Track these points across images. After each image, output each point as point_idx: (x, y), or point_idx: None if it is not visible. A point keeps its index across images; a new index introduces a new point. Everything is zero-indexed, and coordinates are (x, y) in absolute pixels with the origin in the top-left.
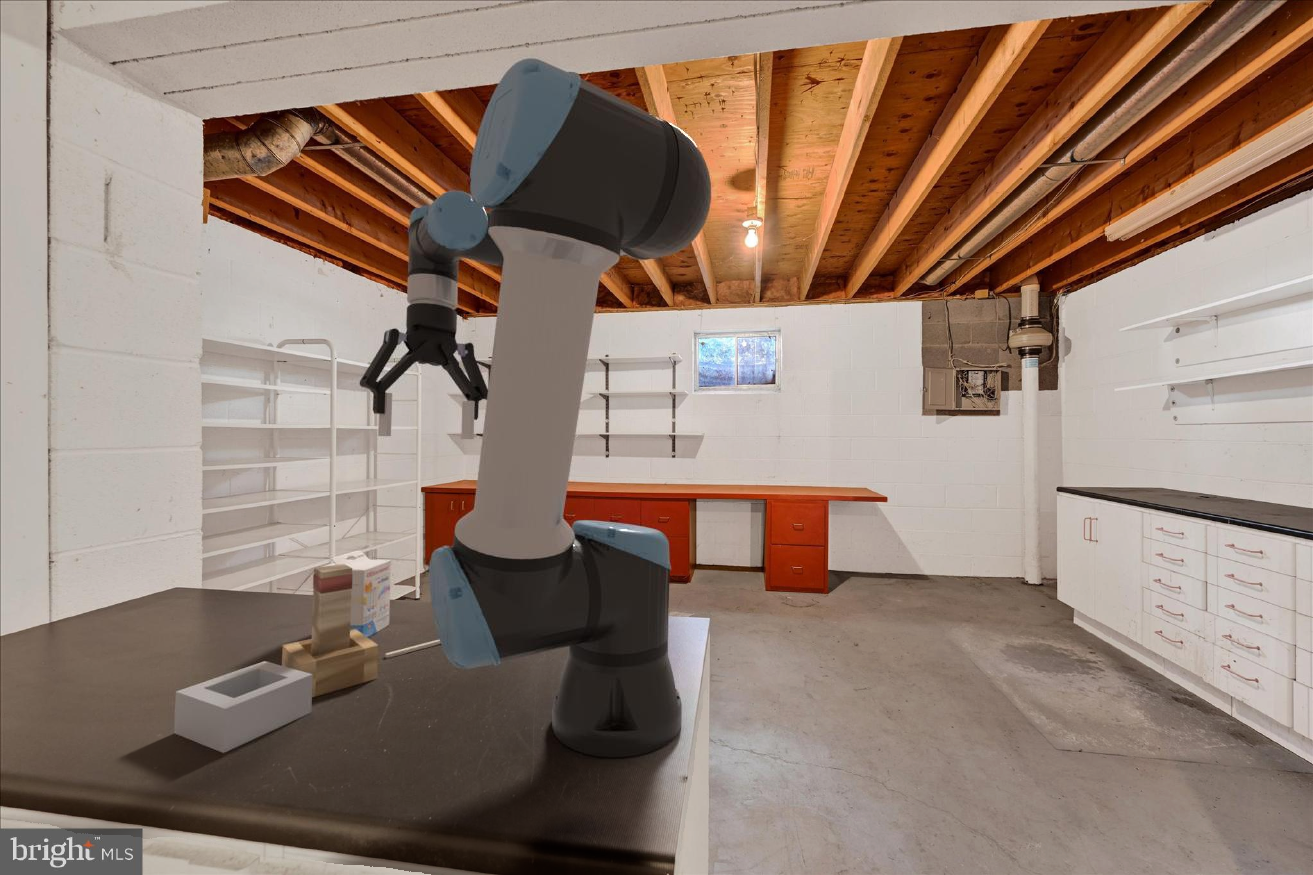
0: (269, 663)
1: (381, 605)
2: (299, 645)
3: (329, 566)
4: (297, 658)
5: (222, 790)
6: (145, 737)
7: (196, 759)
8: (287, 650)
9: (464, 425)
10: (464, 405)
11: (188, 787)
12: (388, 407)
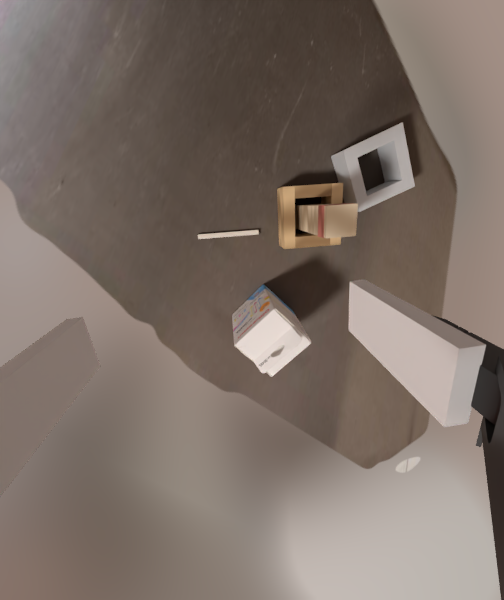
0: (358, 202)
1: (244, 312)
2: None
3: (341, 233)
4: (340, 200)
5: (396, 73)
6: (408, 194)
7: None
8: None
9: (68, 378)
10: (5, 457)
11: (406, 95)
12: (419, 312)
